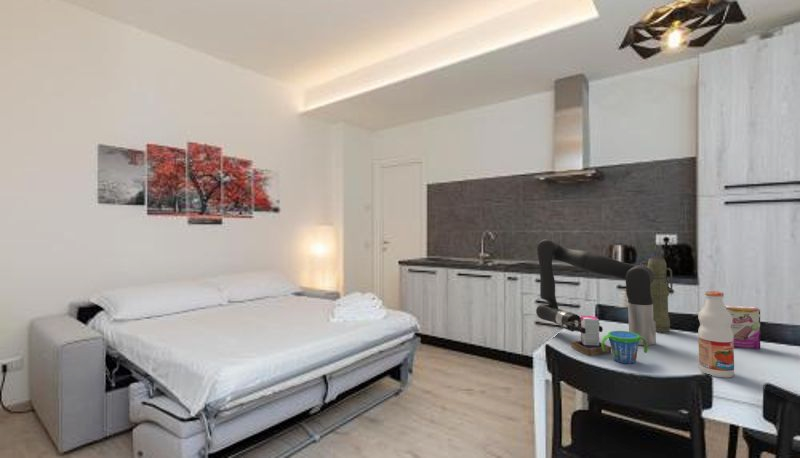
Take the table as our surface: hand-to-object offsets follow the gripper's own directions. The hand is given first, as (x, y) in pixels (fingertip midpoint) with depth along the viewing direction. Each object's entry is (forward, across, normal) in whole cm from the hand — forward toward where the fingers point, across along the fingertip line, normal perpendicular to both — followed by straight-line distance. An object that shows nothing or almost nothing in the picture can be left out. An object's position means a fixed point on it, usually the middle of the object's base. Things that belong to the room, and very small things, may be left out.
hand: (593, 330), depth 158 cm
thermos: (-17, +49, +9) cm, 53 cm away
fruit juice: (+31, +24, +9) cm, 40 cm away
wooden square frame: (-2, 0, +9) cm, 9 cm away
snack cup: (+12, +4, +9) cm, 16 cm away
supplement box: (-2, 0, +7) cm, 7 cm away
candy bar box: (+12, +60, +9) cm, 62 cm away
